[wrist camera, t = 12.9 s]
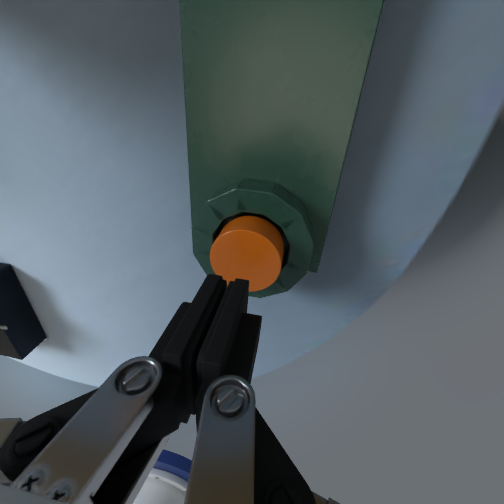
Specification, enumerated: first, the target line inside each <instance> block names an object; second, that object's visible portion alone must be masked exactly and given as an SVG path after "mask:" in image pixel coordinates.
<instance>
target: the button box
mask: <svg viewBox="0 0 504 504" xmlns="http://www.w3.org/2000/svg"><path fill="white" fill-rule="evenodd" d="M383 2H384V0H180V17H181V35H182V53H183V72H184V90H185V108H186V127H187V145H188V163H189V182H190V200H191V218H192V240H193V253H194V255H195V257H196V259H197V260H198V262H199V263H200V265H201V266H202V268H203V270H204V271H205V273H206V274H207V275H208V274H215V272H214V271H213V269H212V266H211V262H210V251H211V247H212V245H213V243H214V242H215V240H216V238H217V237H218V235H219V234H220V232H221V231H222V229H223V228H224V227H225V225H226V224H227V223H228V222H230V221H231V220H233V219H235V218H238V217H241V216H255V217H259V218H262V219H265V220H267V221H268V222H270V223H271V224H272V225H274V226H275V227H276V229H277V230H278V231H279V232H280V234H281V236H282V239H283V242H284V254H283V260H282V267H281V271H280V274H279V276H278V278H277V279H276V281H275V282H274V283H273V284H272V285H270V286H269V287H267V288H265V289H263V290H259V291H253V292H249V293H248V296H252V297H258V298H262V297H266V296H270V295H274V294H278V293H282V292H286V291H288V290H289V289H291V288H292V287H293V286H294V285H295V284H296V283H297V282H298V281H299V280H300V279H301V278H302V277H303V276H304V275H305V274H306V273H307V272H308V271H311V272H317V270H318V266H319V262H320V258H321V254H322V250H323V246H324V242H325V238H326V233H327V229H328V225H329V221H330V217H331V213H332V209H333V205H334V201H335V197H336V193H337V189H338V185H339V181H340V177H341V172H342V168H343V164H344V160H345V156H346V152H347V148H348V144H349V140H350V136H351V132H352V128H353V124H354V120H355V116H356V111H357V107H358V103H359V99H360V95H361V91H362V87H363V83H364V79H365V75H366V71H367V67H368V63H369V59H370V55H371V50H372V46H373V42H374V38H375V34H376V30H377V26H378V22H379V18H380V14H381V10H382V6H383ZM215 275H216V274H215ZM227 286H228V285H227Z"/></svg>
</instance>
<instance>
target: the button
mask: <svg viewBox="0 0 504 504" xmlns="http://www.w3.org/2000/svg"><path fill="white" fill-rule="evenodd" d="M283 254H284V242H283V239H282V236H281V234H280V232H279V231H278V230H277V229H276V227H275V226H274V225H272V224H271V223H270V222H268V221H267V220H265V219H262V218H259V217H255V216H241V217H238V218H235V219H233V220H231V221H230V222H228V223H227V224H226V225H225V227H224V228H223V229H222V231H221V232H220V234H219V235H218V237H217V238H216V240H215V242H214V243H213V245H212V247H211V251H210V262H211V266H212V269H213V271H214V272H215V274H216V275H221V276H223V280H227V285H228V284H229V282H230V281H235V279H236V278H239V279H245V280H249V292H253V291H259V290H263V289H265V288H267V287H269V286H270V285H272V284H273V283H274V282H275V281H276V279H277V278H278V276H279V274H280V271H281V267H282V260H283Z"/></svg>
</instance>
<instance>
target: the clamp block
mask: <svg viewBox="0 0 504 504" xmlns="http://www.w3.org/2000/svg"><path fill="white" fill-rule="evenodd" d="M44 339H46V335H45V333H44V331H43V329H42V327H41V325H40V323H39V321H38V319H37V317H36V315H35V313H34V311H33V309H32V307H31V305H30V303H29V301H28V299H27V297H26V295H25V293H24V291H23V289H22V287H21V285H20V283H19V281H18V279H17V277H16V275H15V273H14V271H13V269H12V267H11V265H10V264H4V263H0V355H4V356H8V357H12V358H17V359H21V360H22V359H24V358H25V357H26V356H27V355H28V354H29V353H30V352H31V351H32V350H33V349H35V348H36V347H37V346H38V345H39V344H40V343H41V342H42V341H43V340H44Z"/></svg>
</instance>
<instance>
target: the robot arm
mask: <svg viewBox="0 0 504 504" xmlns="http://www.w3.org/2000/svg"><path fill="white" fill-rule="evenodd" d="M248 293H249V280H245V279H239V278H236V279H235V281H230V282H229V284H228V286H227V280H223V276H221V275H215V274H208V275H207V277H206V279H205V280H204V282H203V284H202V286H201V287H200V289H199V291H198V292H197V294H196V296H195V298H194V299H193V301H192V303H188V302H183V303H182V304H181V305H180V307H179V308H178V310H177V312H176V313H175V315H174V316H173V318H172V320H171V321H170V323H169V324H168V326H167V327H166V329H165V331H164V332H163V334H162V335H161V337H160V339H159V340H158V342H157V343H156V345H155V347H154V348H153V350H152V351H151V353H150V355H149V356H148V357H147V356H141V357H135V358H132V359H129V360H128V361H126V362H124V363H122V364H121V365H120V366H119V367H118V368H117V369H116V370H115V371H114V372H113V373H112V374H111V375H110V376H109V377H108V379H107V380H106V381H105V382H104V383H103V384H102V385H101V386H100V387H99V388H98V389H95V390H93V391H91V392H89V393H87V394H84V395H82V396H80V397H78V398H75V399H74V400H71V401H69V402H67V403H64V404H62V405H60V406H58V407H56V408H53V409H51V410H49V411H47V412H44V413H42V414H40V415H38V416H36V417H34V418H32V419H30V420H29V421H22V419H21V418H5V419H0V504H340V503H338V502H336V501H334V500H332V499H331V498H329V499H328V500H326V499H325V498H322V497H321V496H319V495H317V494H316V493H314V492H312V491H311V490H310V488H309V486H308V484H307V483H306V481H305V480H304V478H303V477H302V475H301V474H300V472H299V471H298V469H297V468H296V466H295V465H294V464H293V462H292V461H291V459H290V458H289V456H288V455H287V453H286V452H285V450H284V449H283V447H282V446H281V444H280V443H279V441H278V440H277V438H276V437H275V435H274V434H273V432H272V431H271V429H270V428H269V426H268V425H267V423H266V422H265V420H264V419H263V417H262V416H261V414H260V413H259V411H258V410H257V408H256V407H255V393H254V390H253V388H252V386H251V385H250V383H251V378H252V373H253V368H254V363H255V358H256V353H257V348H258V342H259V336H260V329H261V321H262V316H259V315H254V314H248V313H247V304H248ZM190 414H193V415H195V414H196V424H197V438H196V443H195V448H194V454H193V459H192V464H191V469H190V474H189V480H188V482H187V481H186V480H184V479H183V478H181V477H179V476H177V475H175V474H173V473H170V472H168V471H165V470H161V469H158V468H153V466H154V464H155V463H156V461H157V459H158V457H159V455H160V454H161V452H162V450H163V448H164V446H165V445H166V443H167V441H168V439H169V436H170V433H172V432H174V431H175V430H177V429H178V428H179V425H180V423H181V422H183V423H187V422H188V419H189V417H190Z"/></svg>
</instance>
